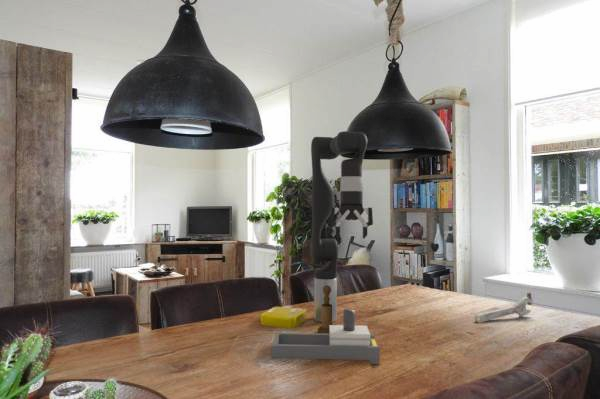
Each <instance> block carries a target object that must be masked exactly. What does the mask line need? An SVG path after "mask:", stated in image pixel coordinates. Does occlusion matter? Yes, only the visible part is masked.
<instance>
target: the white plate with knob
mask: <svg viewBox="0 0 600 399" xmlns="http://www.w3.org/2000/svg"><path fill="white" fill-rule="evenodd" d="M342 312H343V315H342V316H343V318H342V319H343V320H342V321H343V323H342V324H338V325H337V324H332V325H329V345H346V346H370V341H371V338H370V334H371V333H370V330H369V327H368V325H356V310H355V309H353V308H344V309H343V310H342Z"/></svg>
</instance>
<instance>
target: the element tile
mask: <svg viewBox="0 0 600 399" xmlns="http://www.w3.org/2000/svg"><path fill="white" fill-rule="evenodd" d="M306 320H307V310H306V309H304V308H295V307H294V308H293V307H285V306H273V307H272V308H270V309H268V310H266V311H264V312H263V313H261V314H260V325H261V324H262V326H266V325H268V326H269V327H275V328H285V329H296V328H297V327H299V326H300V325H301V324H304V322H305V321H306ZM268 326H267V327H268Z"/></svg>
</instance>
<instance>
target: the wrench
mask: <svg viewBox="0 0 600 399" xmlns="http://www.w3.org/2000/svg"><path fill="white" fill-rule="evenodd" d="M528 303H530V304H533V303H534V301H533V300H532V298H529V297H527V296H524V297H521V298H519V300H518V301H516V302H515V303H514V304H512V305H511V306H507V307H503V308H498V309H494V310H491V311H486V312H482V313H478V314H475V315H474V321H475V322H476V323H483V322H487V321H490V320H494V319H498V318H502V317H506V316H511V315H513V314H515V315H517V316H518V317H519V318H524V316H527V315H529V314H530V313H531V312H532V310H531V309H528V308H527V304H528ZM478 318H479V319H478Z"/></svg>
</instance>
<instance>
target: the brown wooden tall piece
mask: <svg viewBox="0 0 600 399" xmlns="http://www.w3.org/2000/svg"><path fill="white" fill-rule="evenodd" d="M323 292H324V294H325V298H324V303H325V304H322V318H321V322H320V323H321V325H320V326H319V328H317V333H318V334H329V325H333V322H332V304H329V302H330V298H329V294H330V292H331V287H330V286H324V287H323Z"/></svg>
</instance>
